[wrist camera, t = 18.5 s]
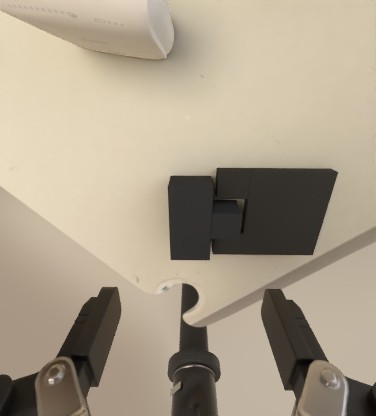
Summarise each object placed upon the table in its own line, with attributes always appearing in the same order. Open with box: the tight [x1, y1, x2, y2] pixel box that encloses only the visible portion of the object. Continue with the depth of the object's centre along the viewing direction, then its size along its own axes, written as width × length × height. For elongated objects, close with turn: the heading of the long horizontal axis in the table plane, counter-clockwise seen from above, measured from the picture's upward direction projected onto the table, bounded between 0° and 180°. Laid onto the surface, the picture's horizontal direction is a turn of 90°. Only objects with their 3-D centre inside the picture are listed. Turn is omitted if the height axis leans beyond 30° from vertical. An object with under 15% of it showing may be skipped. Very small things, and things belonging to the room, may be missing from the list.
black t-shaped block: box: [168, 176, 242, 260], centre depth 28 cm, size 10×8×4 cm
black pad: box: [212, 168, 338, 255], centre depth 29 cm, size 12×14×2 cm
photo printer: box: [0, 0, 174, 59], centre depth 16 cm, size 10×4×12 cm, turn 82°
